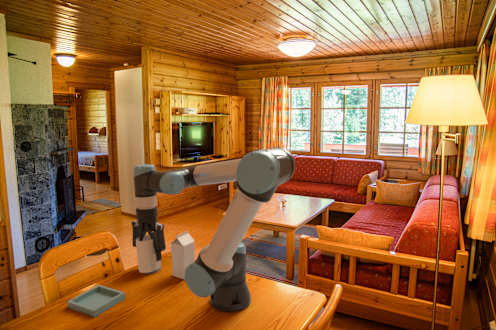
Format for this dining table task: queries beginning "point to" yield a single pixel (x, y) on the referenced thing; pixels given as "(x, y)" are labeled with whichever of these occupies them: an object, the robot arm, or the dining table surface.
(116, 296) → the tray
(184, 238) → the milk carton
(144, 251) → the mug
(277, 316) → the dining table surface
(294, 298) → the dining table surface
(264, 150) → the robot arm
